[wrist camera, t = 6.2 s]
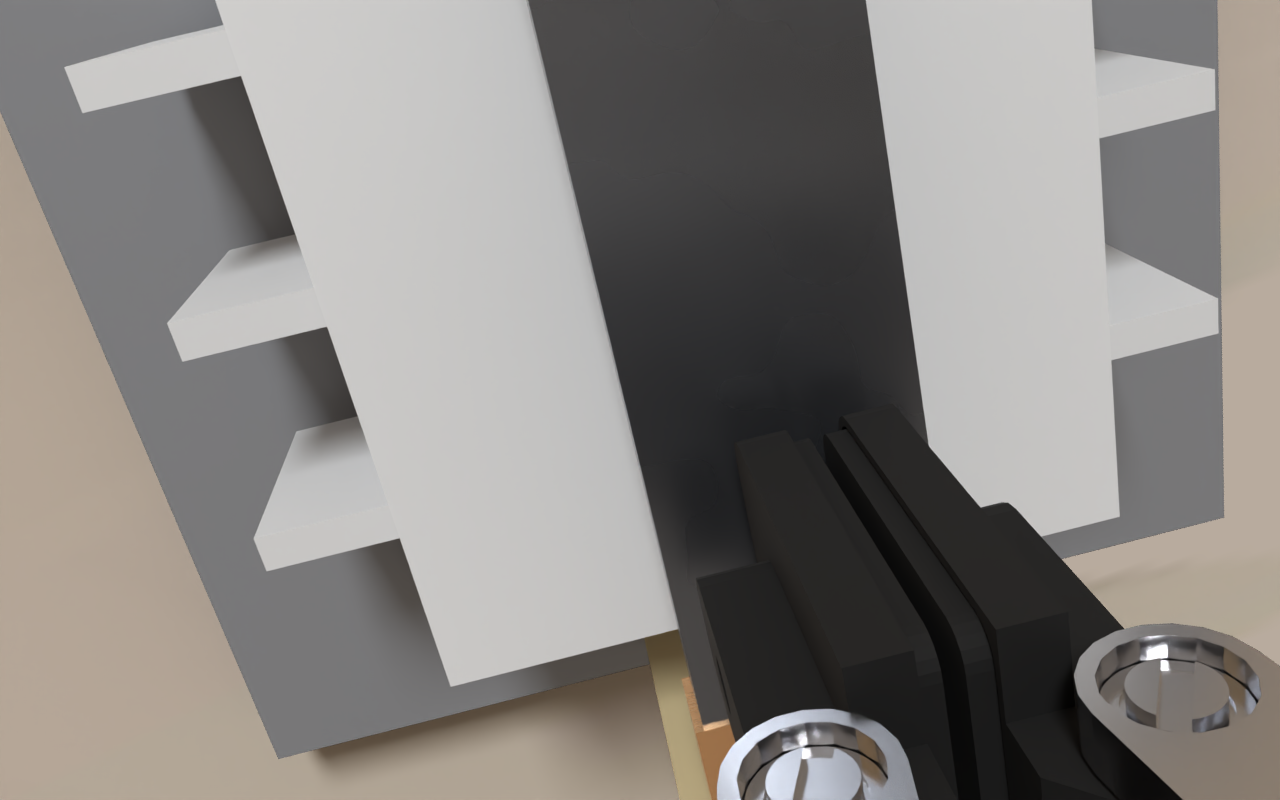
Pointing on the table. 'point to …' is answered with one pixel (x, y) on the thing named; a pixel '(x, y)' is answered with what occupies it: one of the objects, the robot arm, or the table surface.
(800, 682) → the robot arm
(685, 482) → the grey flat bar
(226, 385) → the heatsink board
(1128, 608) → the table surface
